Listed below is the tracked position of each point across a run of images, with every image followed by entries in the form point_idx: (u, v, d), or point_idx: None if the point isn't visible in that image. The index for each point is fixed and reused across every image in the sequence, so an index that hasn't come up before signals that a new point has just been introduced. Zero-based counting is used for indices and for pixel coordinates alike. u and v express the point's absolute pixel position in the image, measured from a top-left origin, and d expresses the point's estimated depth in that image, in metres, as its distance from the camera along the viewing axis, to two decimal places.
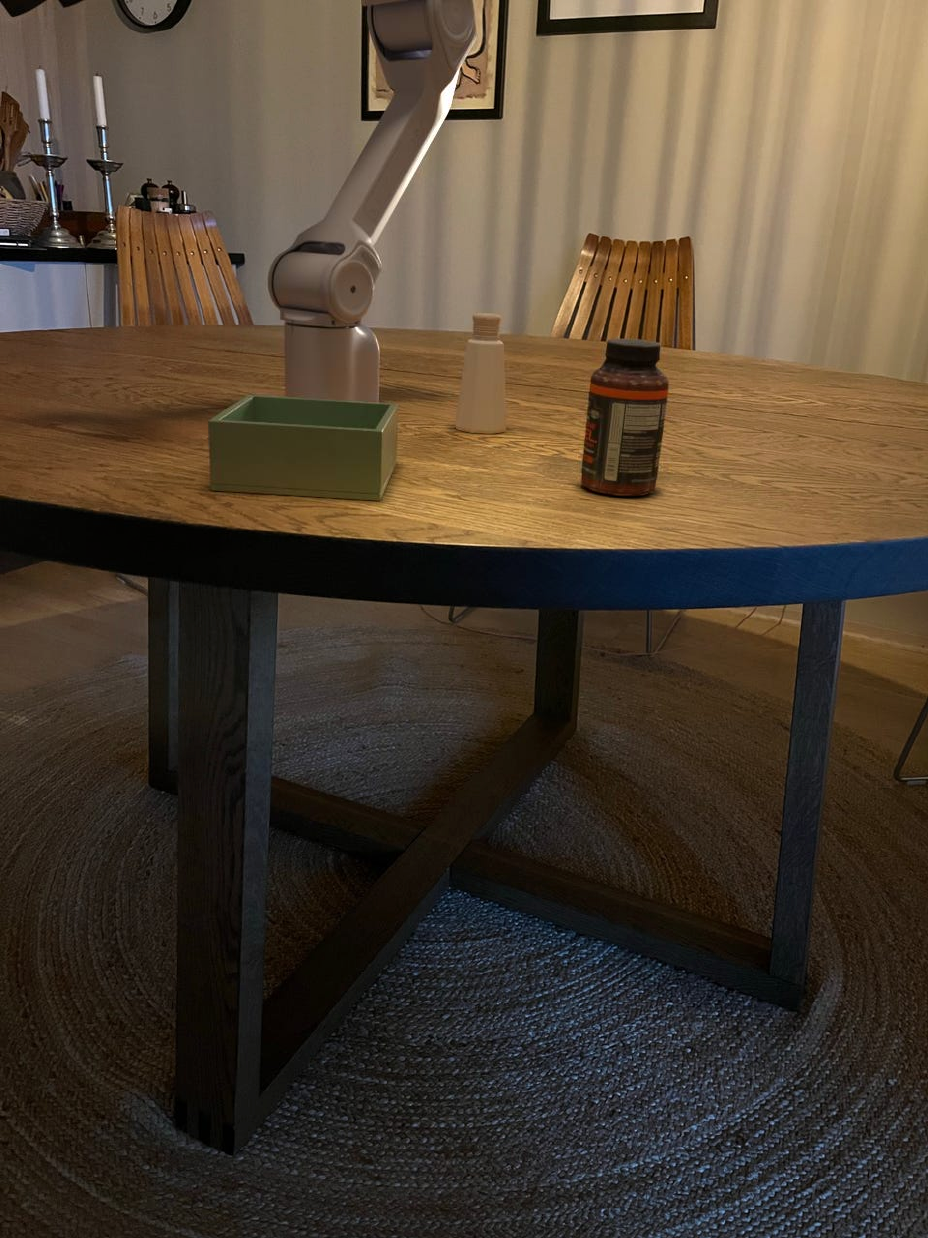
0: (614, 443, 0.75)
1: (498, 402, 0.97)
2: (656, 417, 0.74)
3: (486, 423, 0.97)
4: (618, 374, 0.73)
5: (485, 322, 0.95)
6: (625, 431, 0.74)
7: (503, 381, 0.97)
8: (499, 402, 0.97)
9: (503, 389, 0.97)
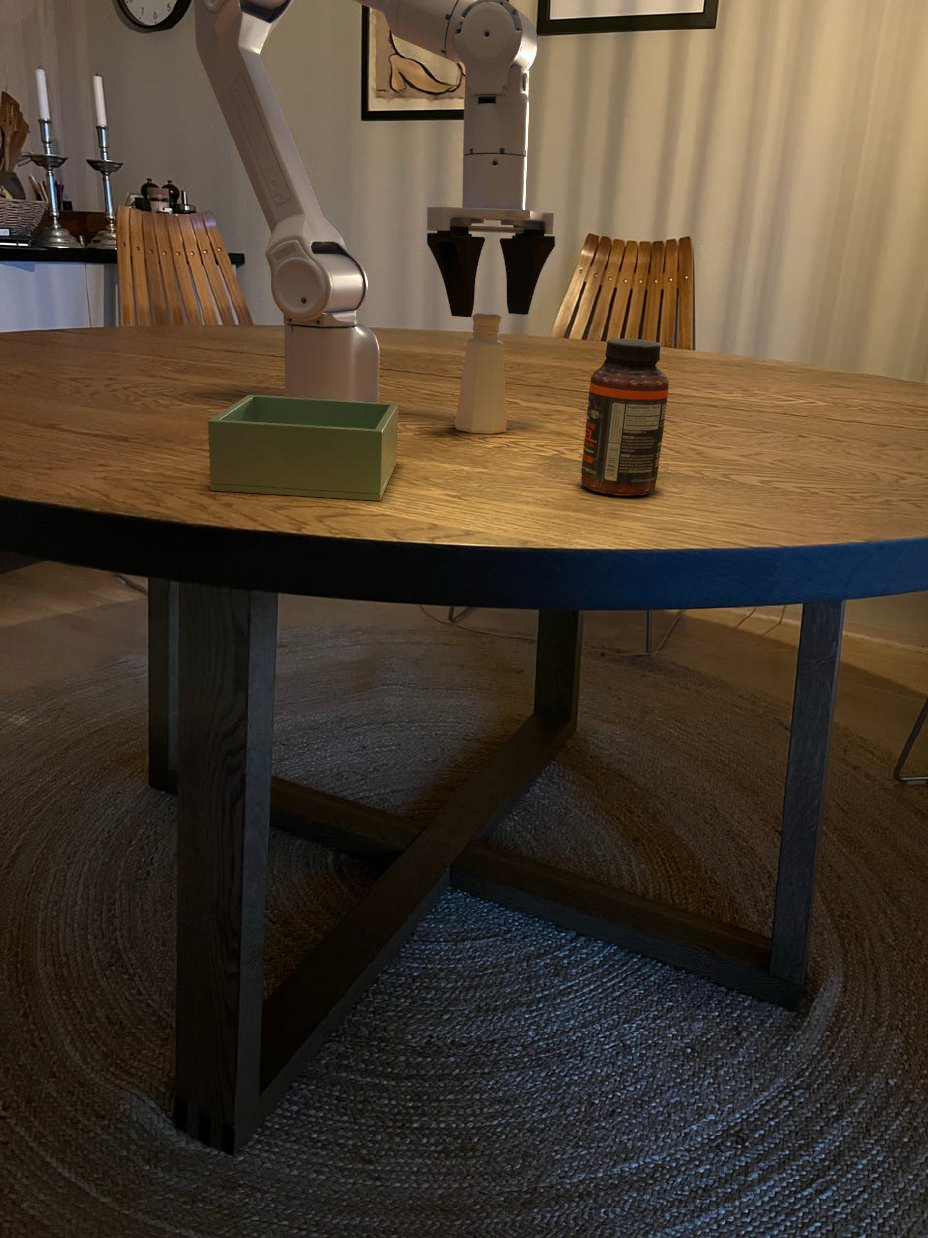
0: (614, 443, 0.75)
1: (498, 402, 0.97)
2: (656, 417, 0.74)
3: (486, 423, 0.97)
4: (618, 374, 0.73)
5: (485, 322, 0.95)
6: (625, 431, 0.74)
7: (503, 381, 0.97)
8: (499, 402, 0.97)
9: (503, 389, 0.97)
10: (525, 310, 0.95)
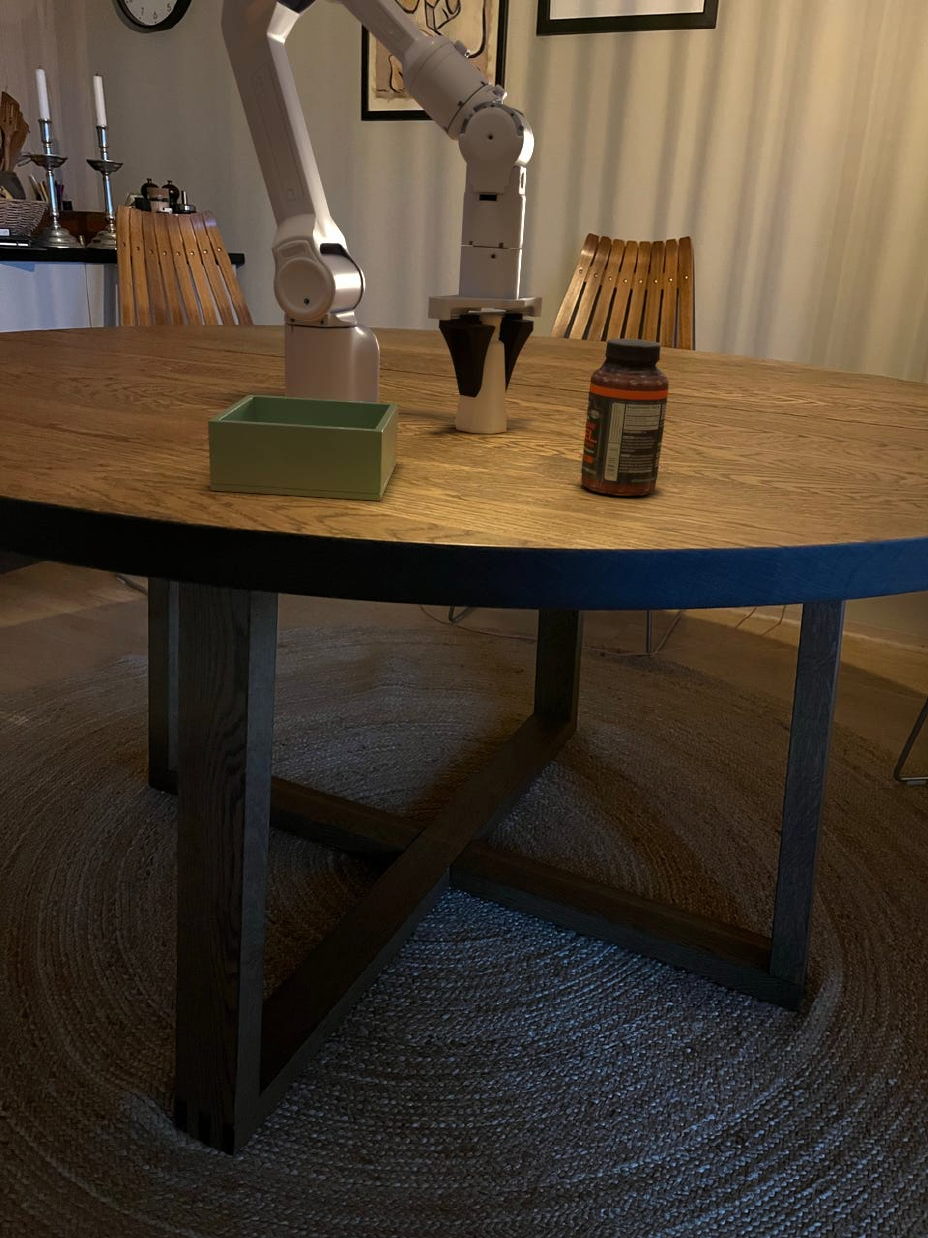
0: (614, 443, 0.75)
1: (498, 402, 0.97)
2: (656, 417, 0.74)
3: (486, 423, 0.97)
4: (618, 374, 0.73)
5: (485, 322, 0.95)
6: (625, 431, 0.74)
7: (503, 381, 0.97)
8: (499, 402, 0.97)
9: (503, 389, 0.97)
10: None
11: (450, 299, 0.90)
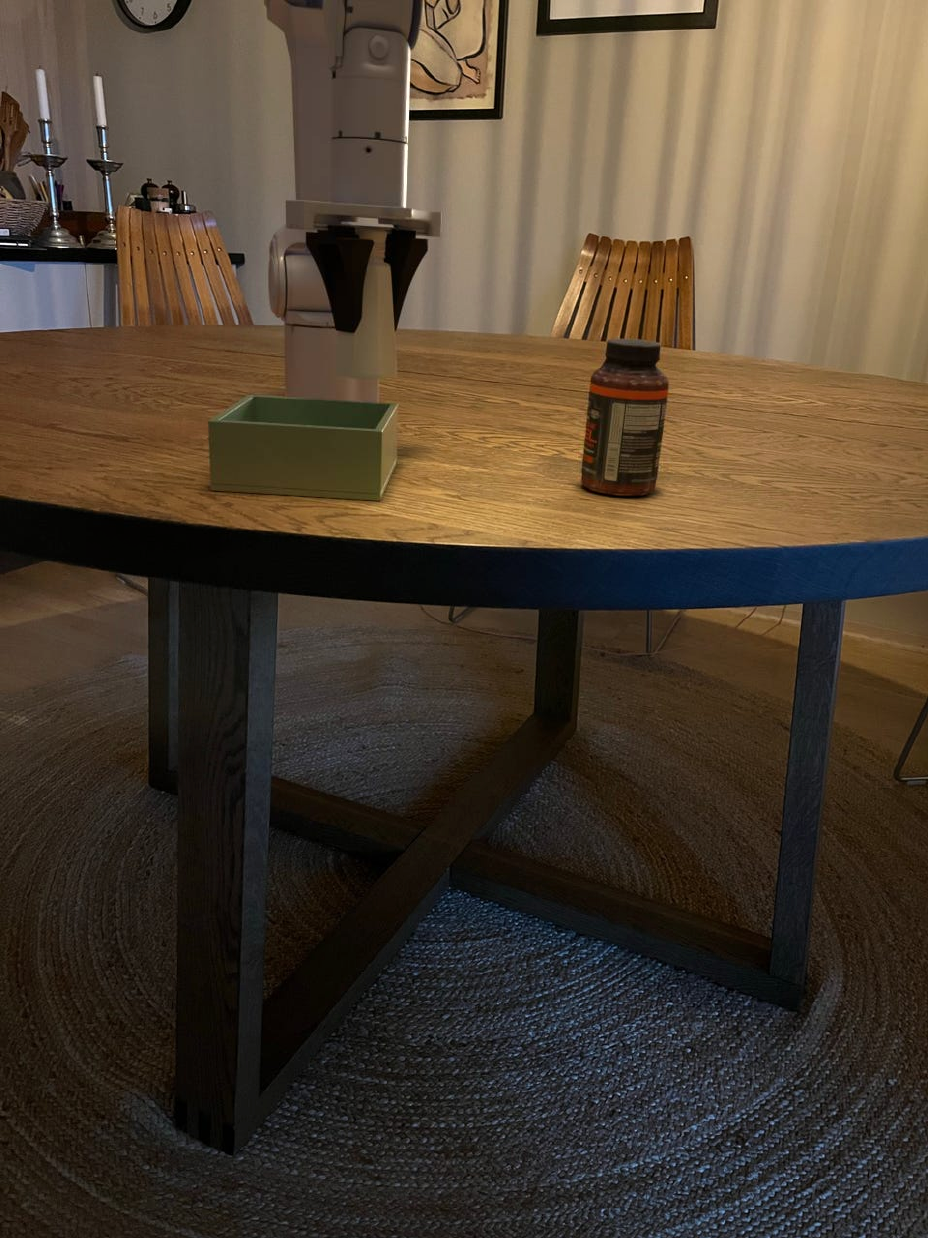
0: (614, 443, 0.75)
1: (384, 340, 0.78)
2: (656, 417, 0.74)
3: (370, 366, 0.78)
4: (618, 374, 0.73)
5: (365, 237, 0.76)
6: (625, 431, 0.74)
7: (391, 313, 0.78)
8: (386, 340, 0.78)
9: (391, 324, 0.78)
10: None
11: (311, 202, 0.71)
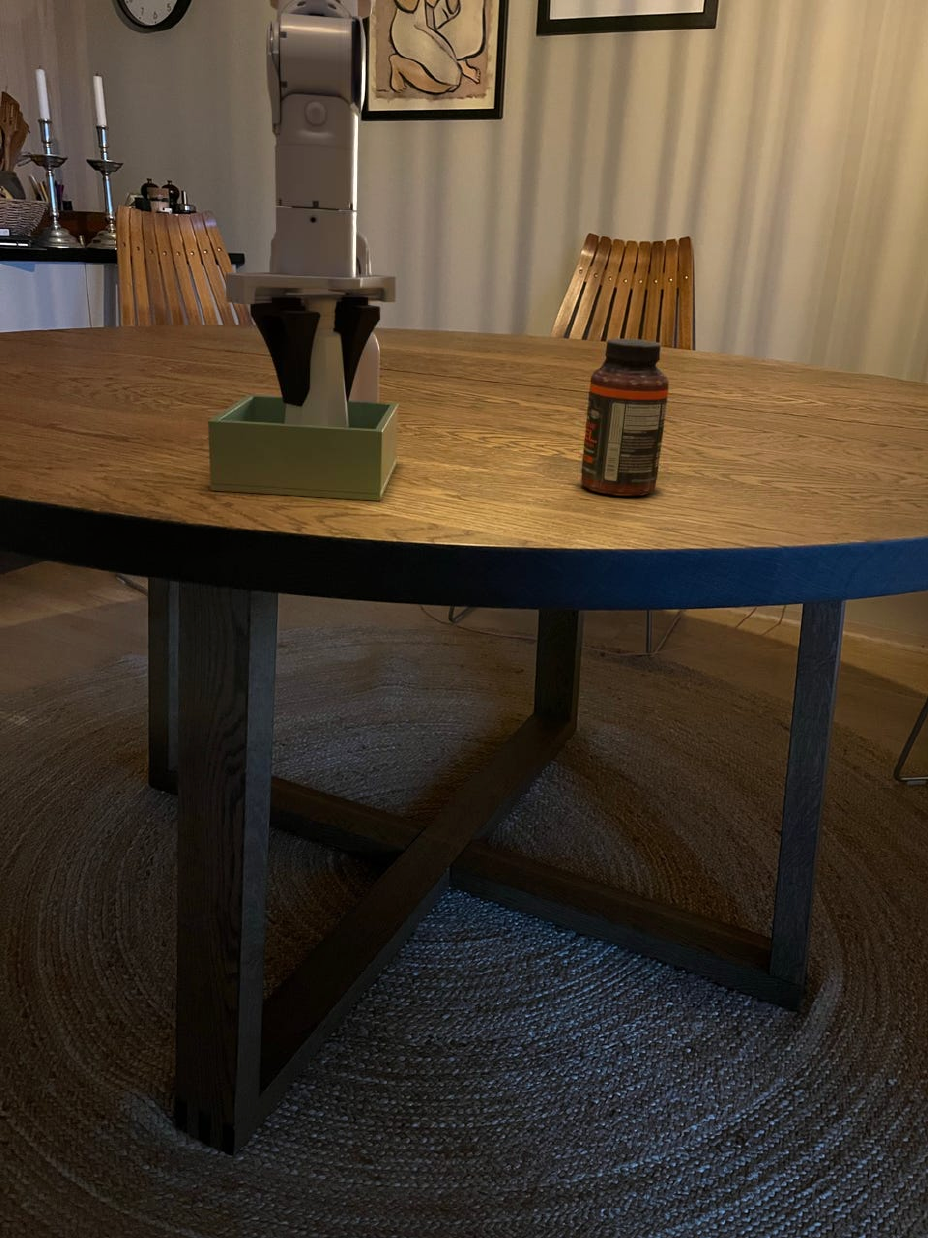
0: (614, 443, 0.75)
1: (334, 413, 0.74)
2: (656, 417, 0.74)
3: None
4: (618, 374, 0.73)
5: (312, 308, 0.72)
6: (625, 431, 0.74)
7: (341, 385, 0.74)
8: (335, 413, 0.75)
9: (342, 395, 0.75)
10: None
11: (252, 276, 0.67)
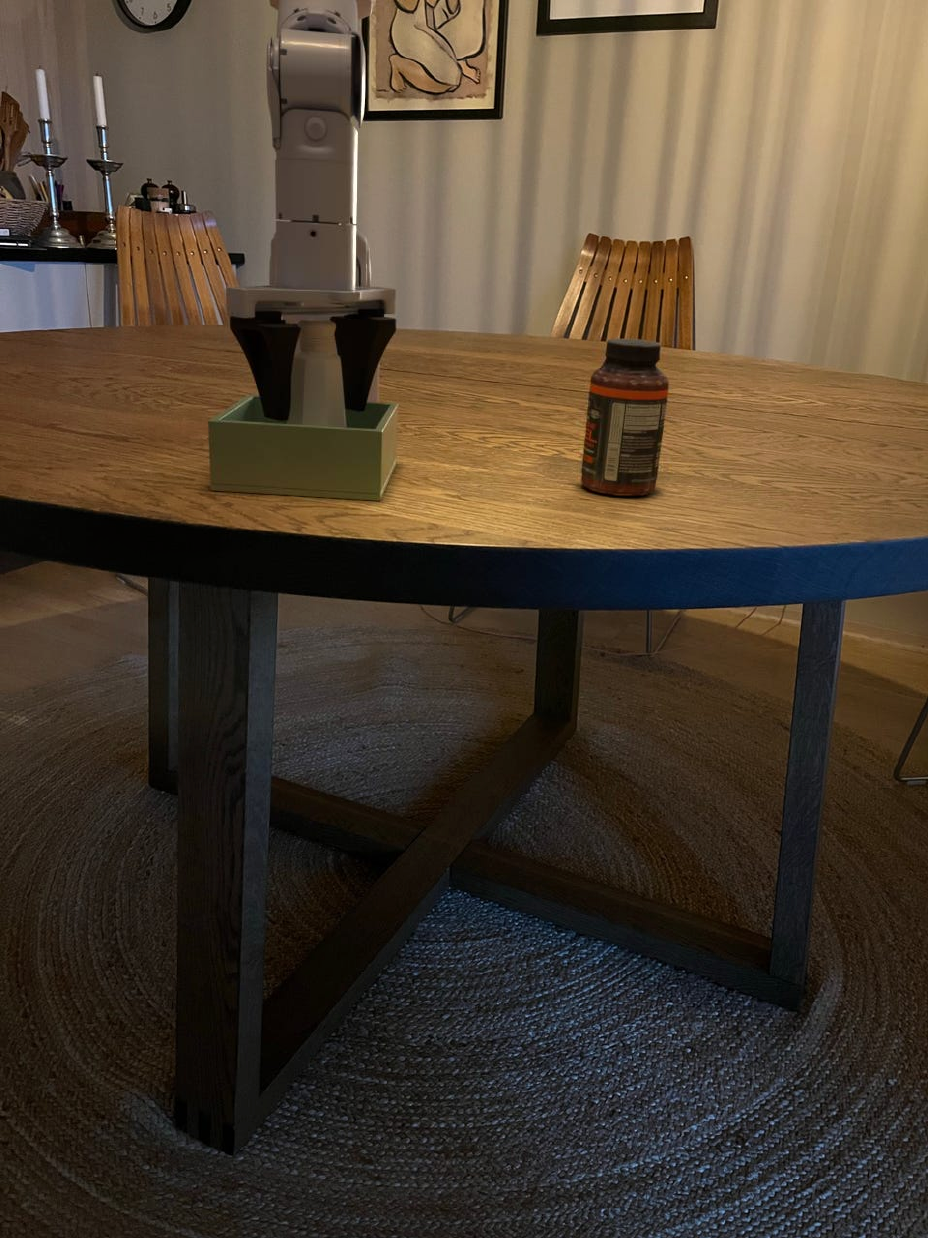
0: (614, 443, 0.75)
1: None
2: (656, 417, 0.74)
3: None
4: (618, 374, 0.73)
5: (312, 331, 0.73)
6: (625, 431, 0.74)
7: (341, 407, 0.75)
8: None
9: (341, 417, 0.75)
10: (361, 407, 0.78)
11: (252, 290, 0.68)
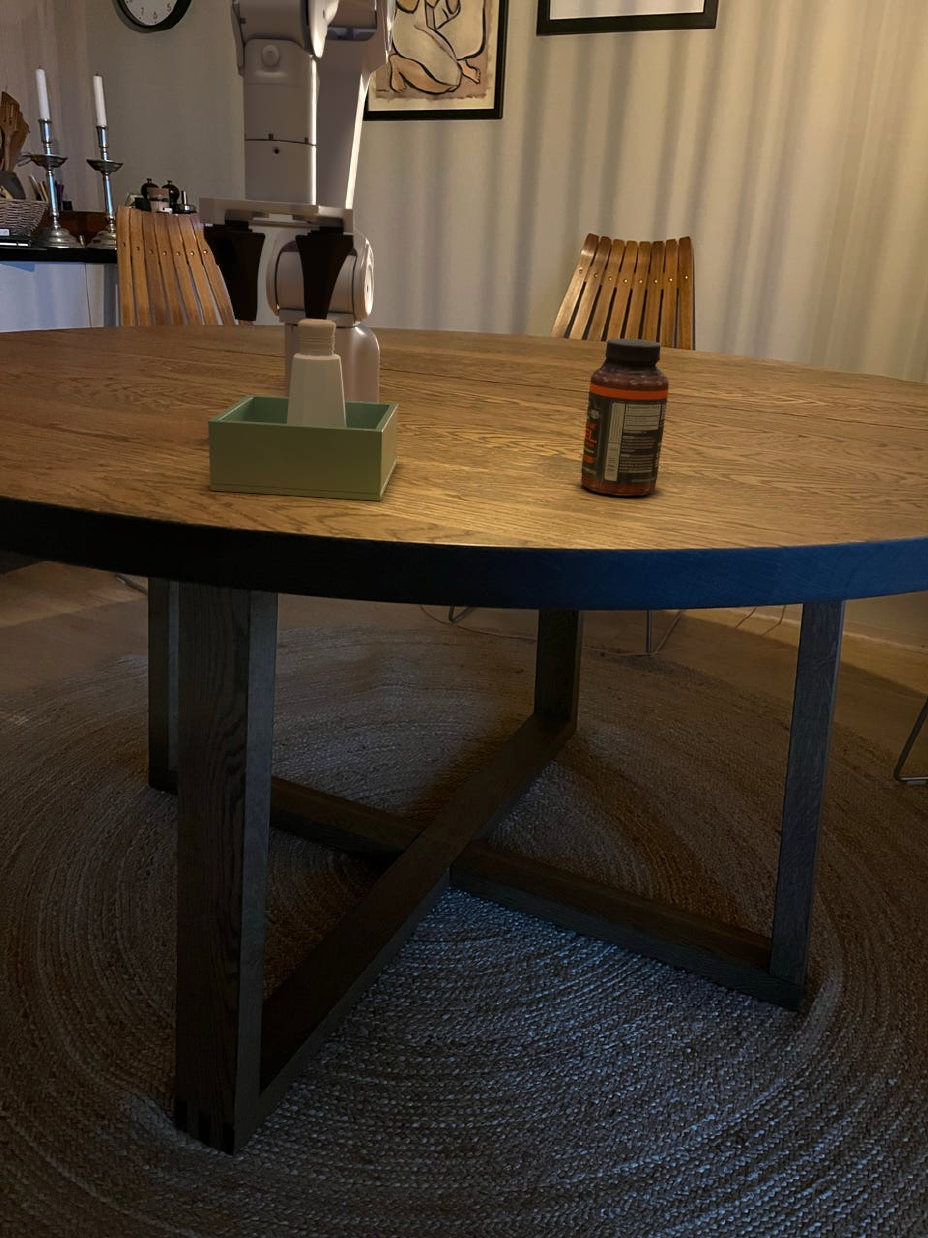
0: (614, 443, 0.75)
1: None
2: (656, 417, 0.74)
3: None
4: (618, 374, 0.73)
5: (312, 331, 0.73)
6: (625, 431, 0.74)
7: (341, 407, 0.75)
8: None
9: (341, 417, 0.75)
10: (323, 315, 0.87)
11: (222, 199, 0.77)
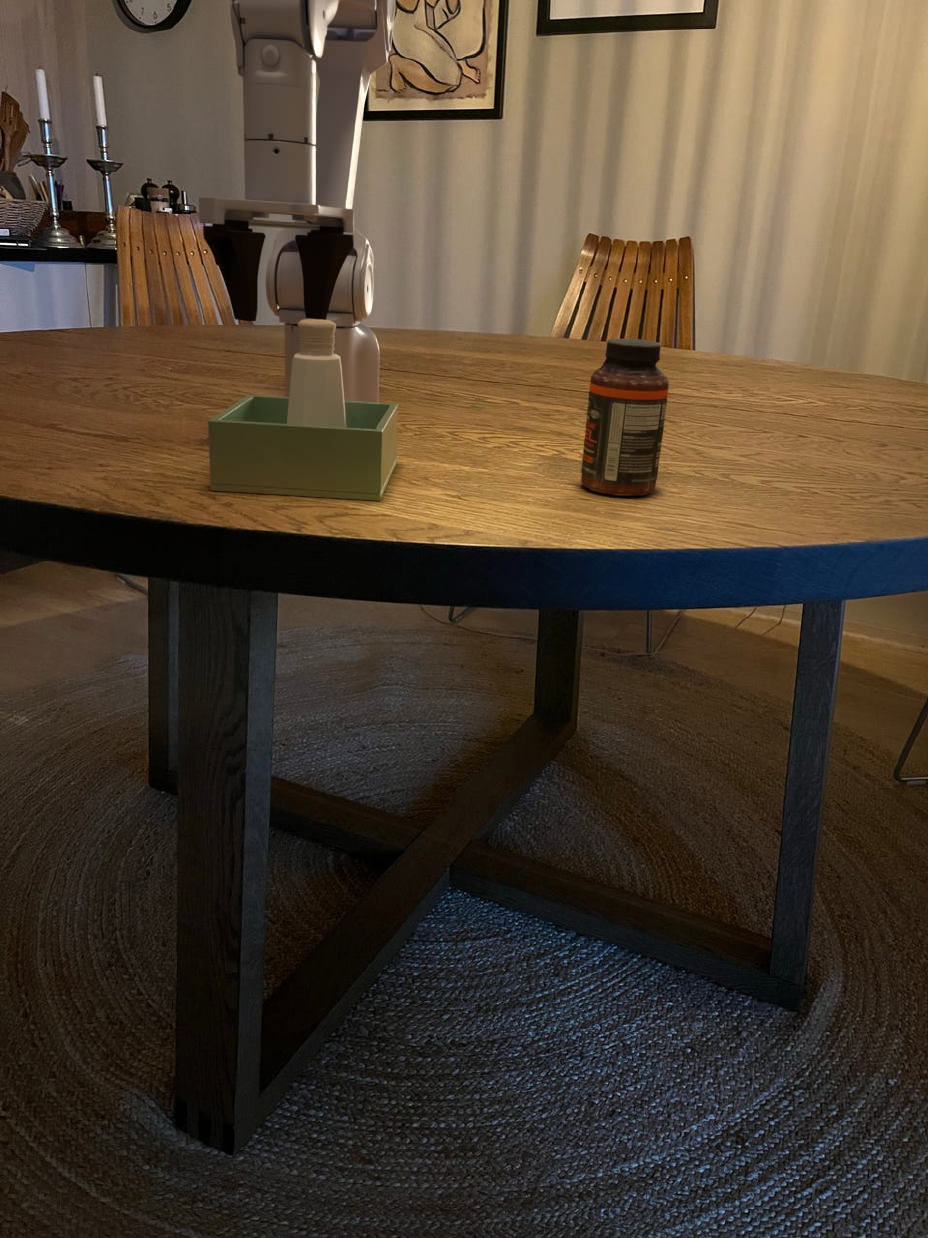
0: (614, 443, 0.75)
1: None
2: (656, 417, 0.74)
3: None
4: (618, 374, 0.73)
5: (312, 331, 0.73)
6: (625, 431, 0.74)
7: (341, 407, 0.75)
8: None
9: (341, 417, 0.75)
10: (323, 315, 0.87)
11: (222, 199, 0.77)
